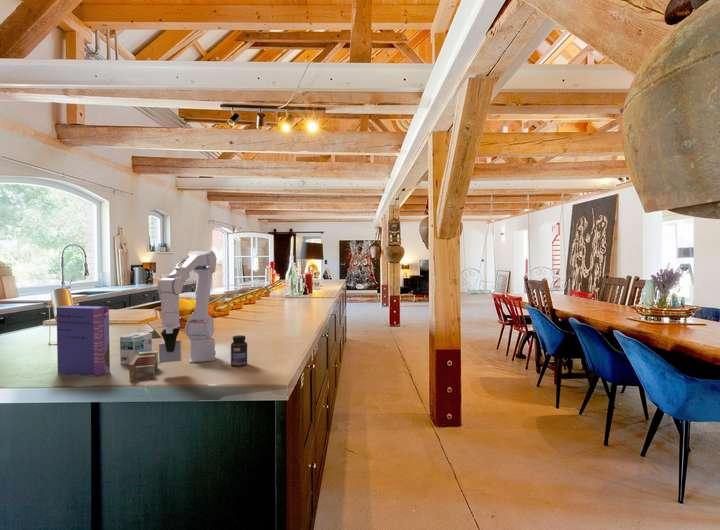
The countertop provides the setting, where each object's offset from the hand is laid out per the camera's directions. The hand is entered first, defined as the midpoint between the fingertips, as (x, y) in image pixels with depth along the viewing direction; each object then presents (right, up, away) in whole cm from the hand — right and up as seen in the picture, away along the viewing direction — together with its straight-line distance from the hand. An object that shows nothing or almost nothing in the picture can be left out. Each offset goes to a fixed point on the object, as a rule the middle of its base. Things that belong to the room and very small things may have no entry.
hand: (170, 350), depth 144 cm
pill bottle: (+20, -9, +13) cm, 26 cm away
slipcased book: (0, -4, 0) cm, 4 cm away
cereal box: (-33, -9, +3) cm, 34 cm away
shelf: (-11, -9, +1) cm, 14 cm away
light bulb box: (-23, -9, +19) cm, 31 cm away
